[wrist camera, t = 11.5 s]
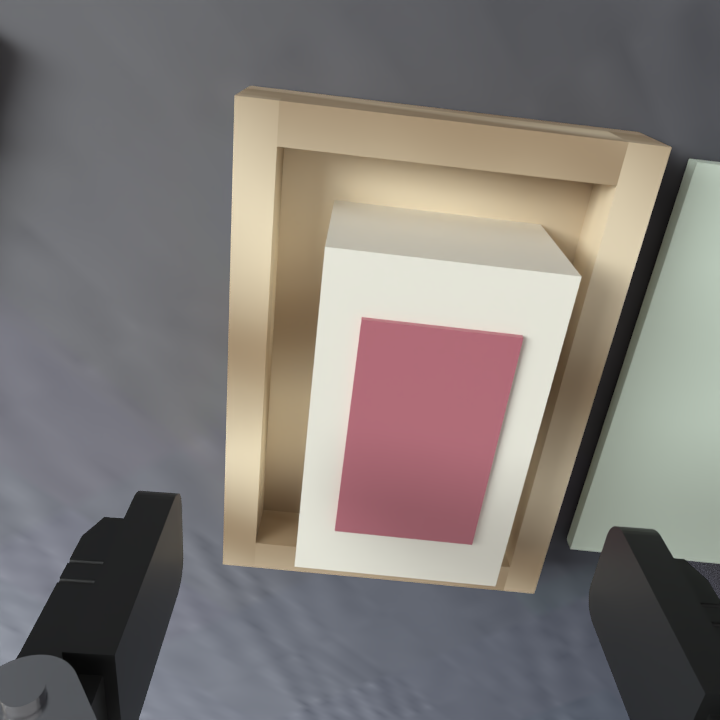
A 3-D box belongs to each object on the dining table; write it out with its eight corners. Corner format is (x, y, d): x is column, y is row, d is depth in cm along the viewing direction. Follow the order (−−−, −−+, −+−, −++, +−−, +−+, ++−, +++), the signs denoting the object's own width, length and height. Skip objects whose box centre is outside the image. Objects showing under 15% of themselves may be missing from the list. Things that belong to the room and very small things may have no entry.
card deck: (334, 200, 18) (324, 249, 14) (540, 224, 18) (583, 279, 14) (306, 476, 22) (293, 570, 18) (475, 493, 22) (496, 590, 19)
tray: (520, 545, 24) (534, 593, 22) (235, 518, 24) (222, 564, 22) (638, 132, 18) (671, 147, 16) (250, 85, 17) (234, 95, 15)
